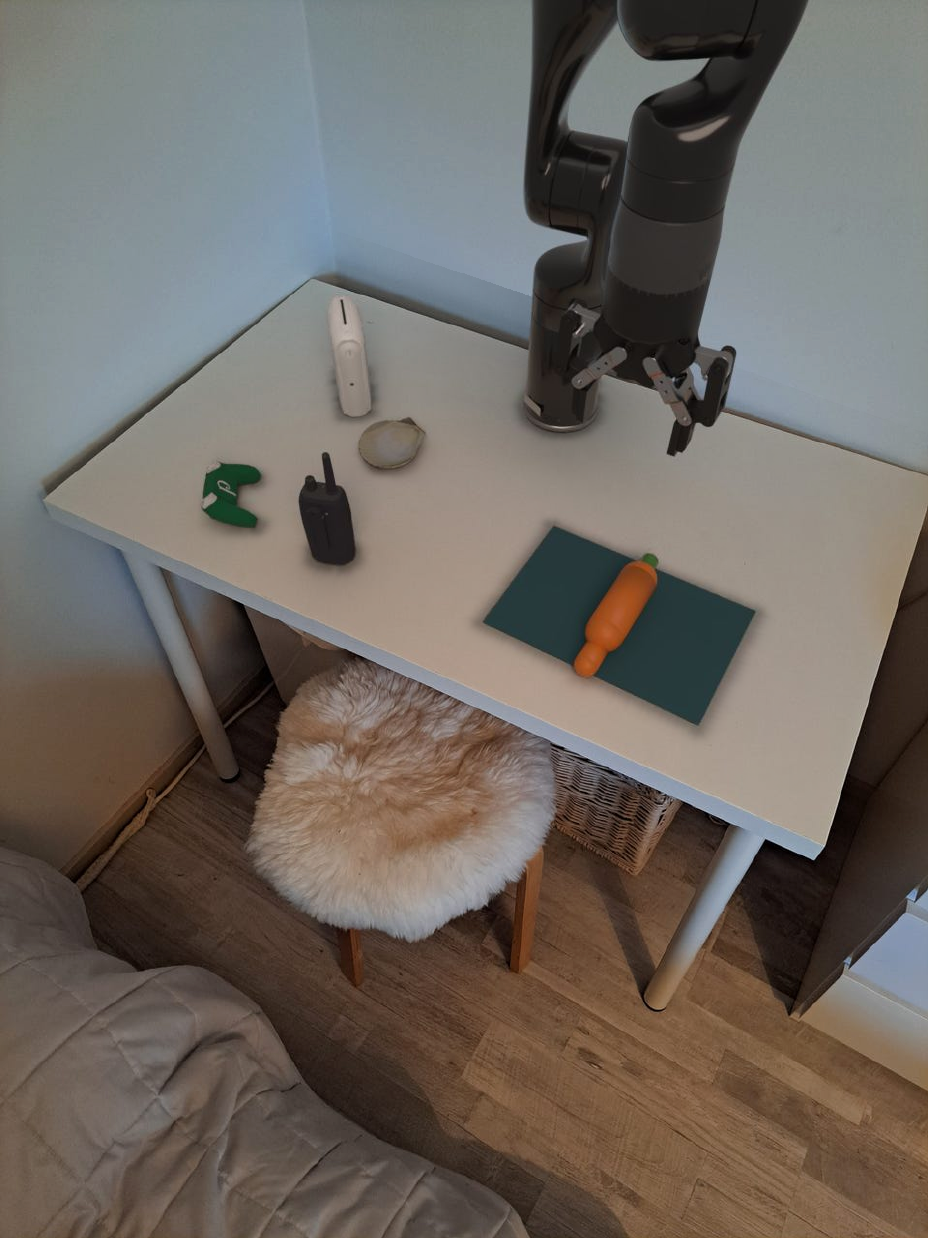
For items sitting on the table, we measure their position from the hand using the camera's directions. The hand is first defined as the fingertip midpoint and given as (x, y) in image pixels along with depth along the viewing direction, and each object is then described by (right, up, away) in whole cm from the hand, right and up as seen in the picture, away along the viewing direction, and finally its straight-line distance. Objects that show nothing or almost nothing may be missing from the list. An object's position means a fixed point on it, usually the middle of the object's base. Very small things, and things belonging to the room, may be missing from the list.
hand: (628, 433), depth 73 cm
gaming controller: (-41, -3, +26) cm, 49 cm away
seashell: (-23, +4, +31) cm, 39 cm away
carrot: (+2, -16, +15) cm, 22 cm away
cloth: (+2, -16, +15) cm, 22 cm away
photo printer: (-29, +14, +38) cm, 50 cm away
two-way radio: (-29, -10, +21) cm, 37 cm away
